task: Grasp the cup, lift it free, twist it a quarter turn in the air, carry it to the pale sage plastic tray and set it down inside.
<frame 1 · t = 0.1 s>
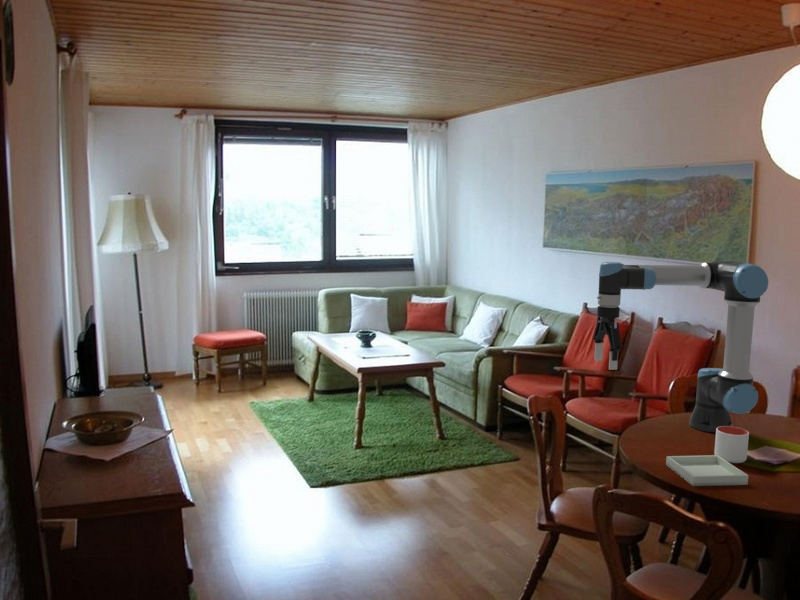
hand: (605, 365, 254), 28 cm above the table, fingers open, 13 cm apart
cup: (730, 459, 241), on the table
tray: (705, 474, 226), on the table
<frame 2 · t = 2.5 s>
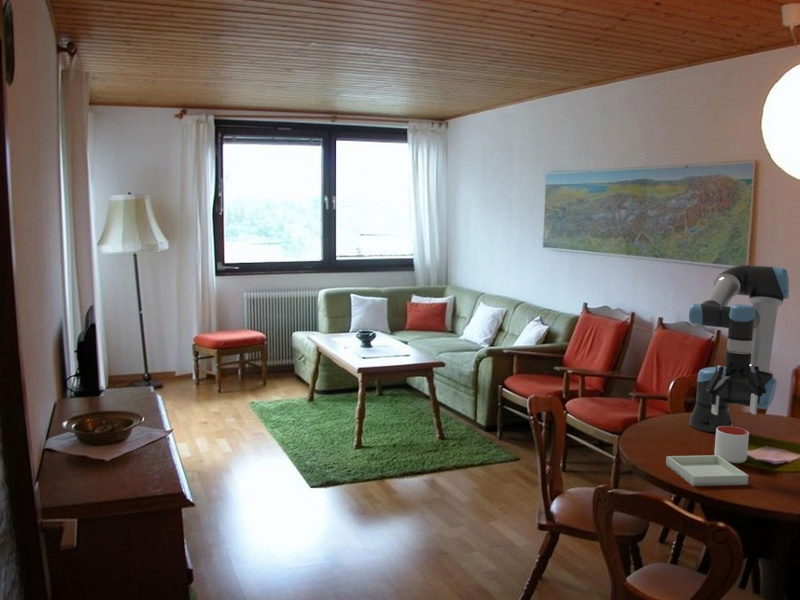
hand: (733, 413, 239), 16 cm above the table, fingers open, 13 cm apart
nothing on the table moved.
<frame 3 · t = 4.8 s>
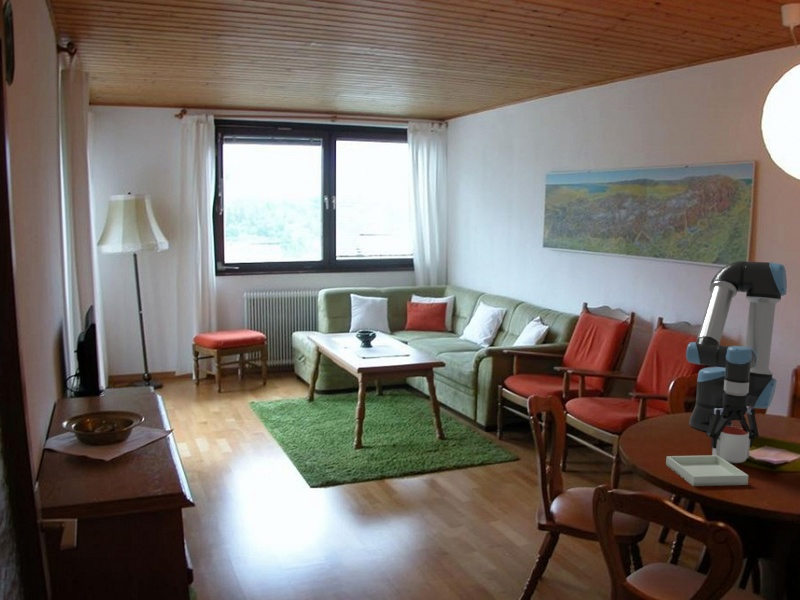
hand: (730, 456, 241), 1 cm above the table, fingers closed on cup, 10 cm apart
cup: (730, 459, 241), on the table, touching gripper
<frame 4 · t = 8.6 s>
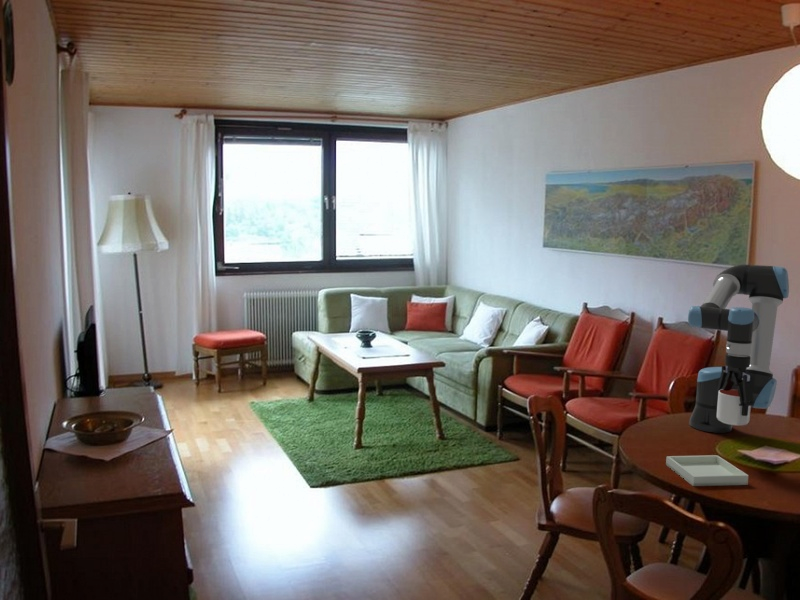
hand: (732, 419, 238), 14 cm above the table, fingers closed on cup, 10 cm apart
cup: (732, 422, 239), point 13 cm above the table, touching gripper
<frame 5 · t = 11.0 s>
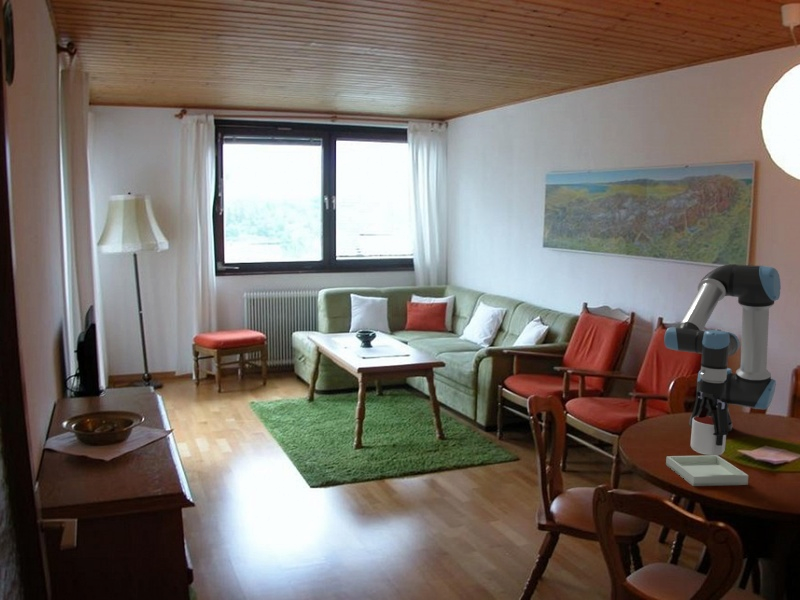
hand: (707, 448, 225), 9 cm above the table, fingers closed on cup, 10 cm apart
cup: (707, 451, 225), point 8 cm above the table, touching gripper
when the fingers open (4 cm above the table, at t = 12.8 s): cup drops 2 cm, resting on tray.
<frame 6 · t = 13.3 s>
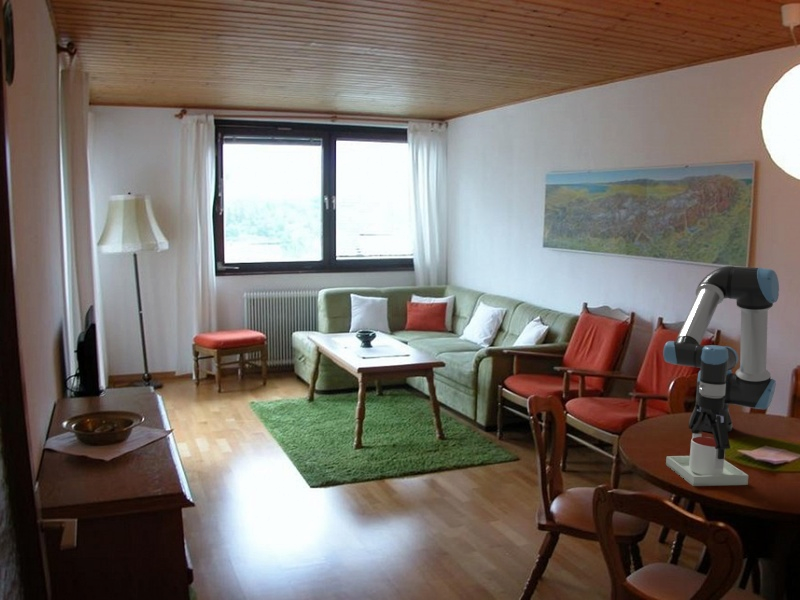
hand: (706, 460, 226), 5 cm above the table, fingers open, 13 cm apart
cup: (705, 472, 226), point 1 cm above the table, touching tray
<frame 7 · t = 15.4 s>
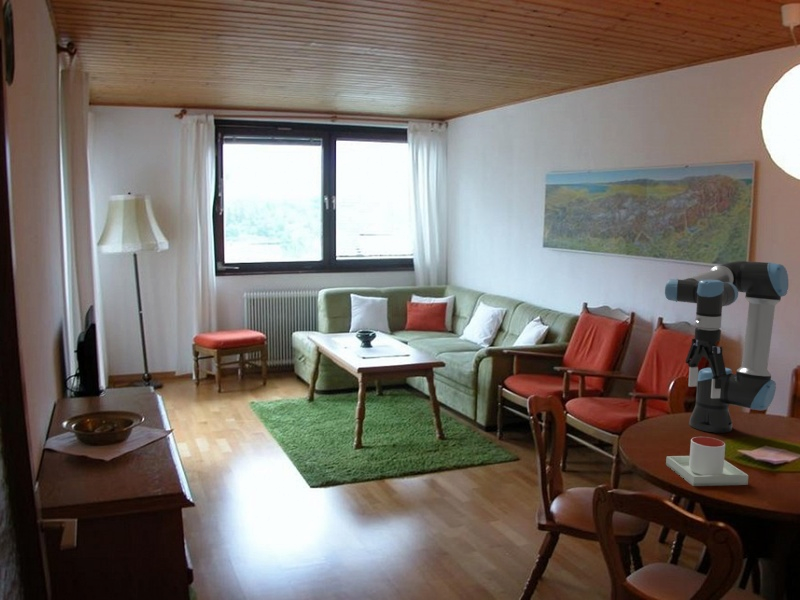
hand: (703, 392, 232), 25 cm above the table, fingers open, 13 cm apart
nothing on the table moved.
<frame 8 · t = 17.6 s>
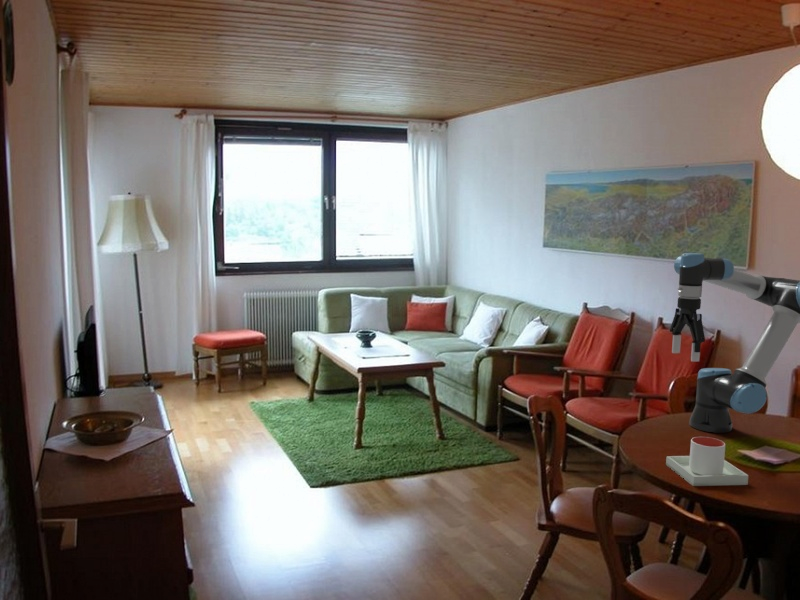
hand: (685, 357, 251), 32 cm above the table, fingers open, 13 cm apart
nothing on the table moved.
at the end: cup inside the target area on the tray (0.1 cm from its centre), point 0.6 cm above the tray's base; cup tilted 0°; the gripper is holding nothing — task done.
